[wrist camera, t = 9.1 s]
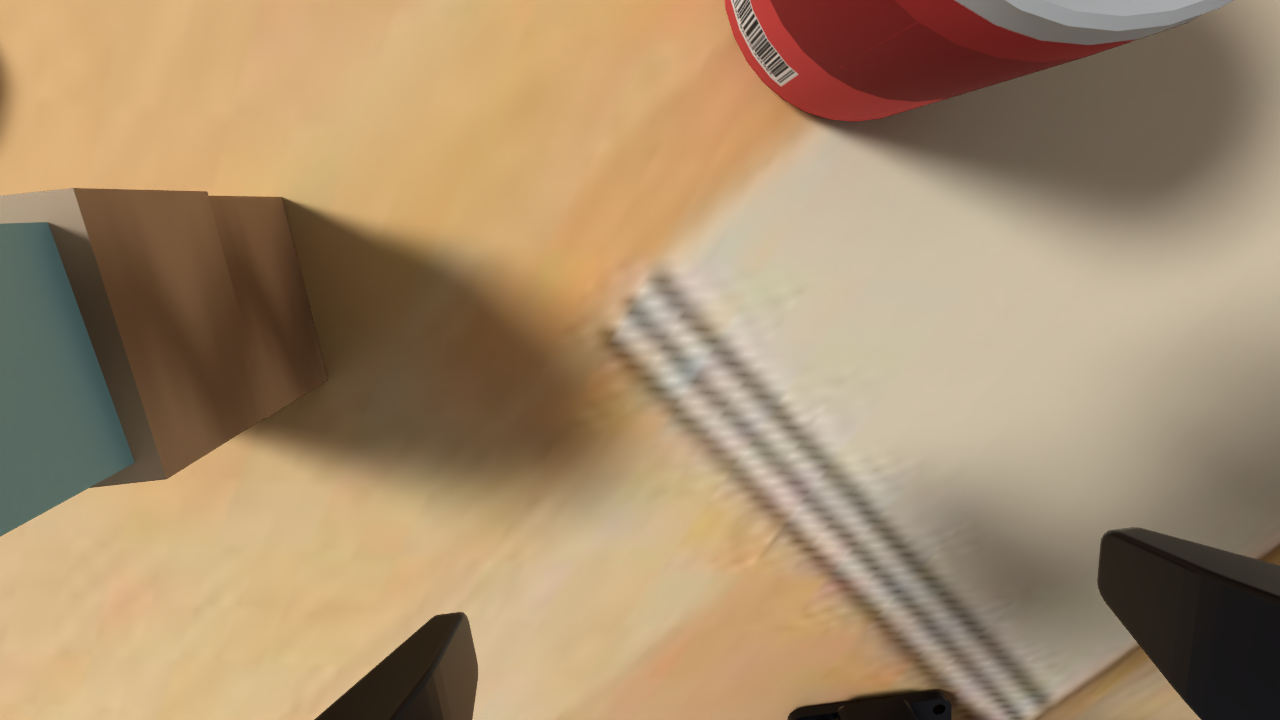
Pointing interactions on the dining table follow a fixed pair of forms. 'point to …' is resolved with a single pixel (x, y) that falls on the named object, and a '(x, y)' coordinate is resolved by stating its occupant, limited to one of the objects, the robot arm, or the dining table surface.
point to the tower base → (270, 296)
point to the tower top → (154, 318)
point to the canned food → (928, 45)
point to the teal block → (48, 385)
